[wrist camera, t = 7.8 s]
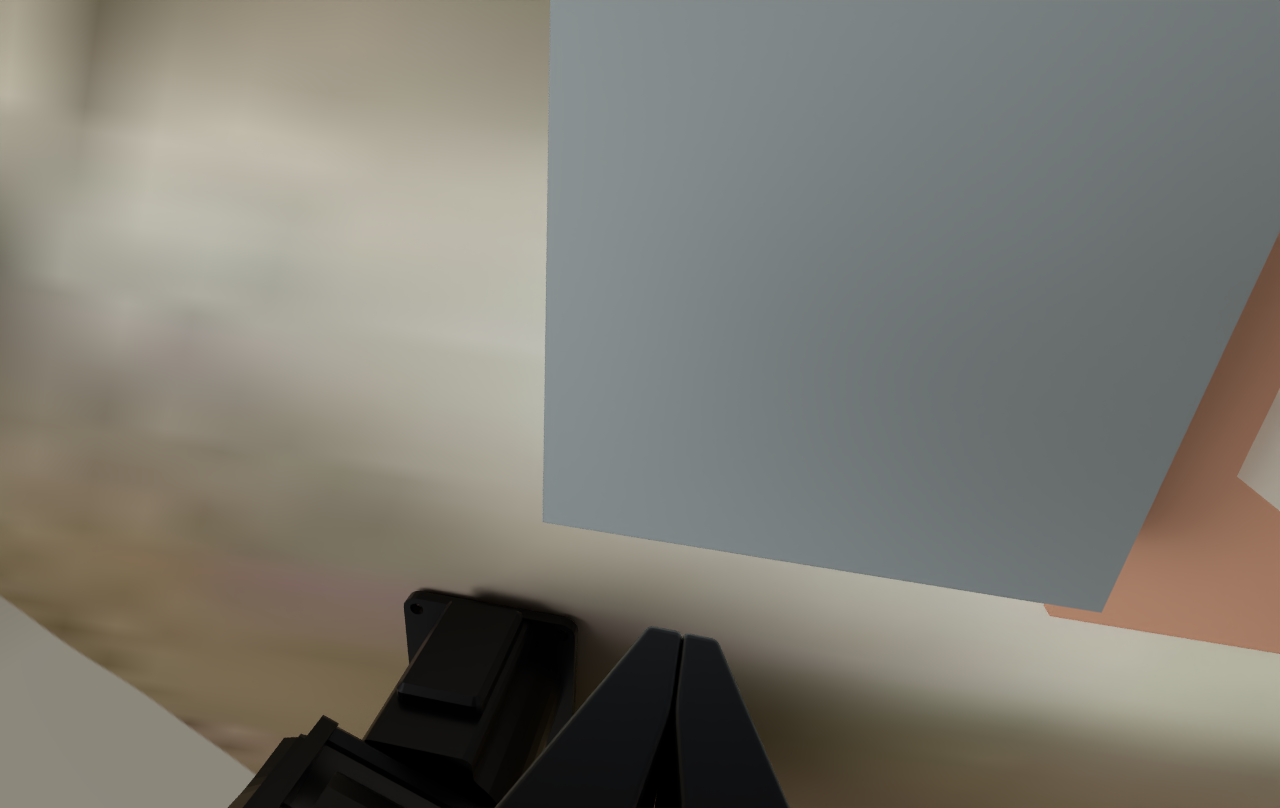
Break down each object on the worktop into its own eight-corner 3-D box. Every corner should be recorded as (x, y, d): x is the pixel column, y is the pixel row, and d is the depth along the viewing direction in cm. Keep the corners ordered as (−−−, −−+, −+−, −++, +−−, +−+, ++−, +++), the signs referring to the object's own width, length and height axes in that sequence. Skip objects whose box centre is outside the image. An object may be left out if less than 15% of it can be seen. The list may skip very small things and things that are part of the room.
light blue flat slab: (1041, 519, 20) (1101, 613, 16) (579, 451, 22) (542, 522, 18) (1259, -41, 14) (1428, -88, 10) (600, -75, 16) (552, -125, 12)
